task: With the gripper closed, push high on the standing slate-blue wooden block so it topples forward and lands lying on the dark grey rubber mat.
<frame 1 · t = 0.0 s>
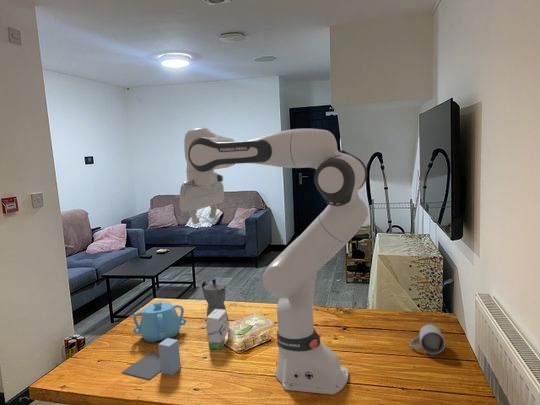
hand: (204, 220, 136), 48 cm above the table, tool pointing down, fingers open, 8 cm apart
ceramic mug: (427, 349, 139), on the table
decorative pot: (161, 335, 162), on the table
mat: (150, 365, 140), on the table
block: (171, 370, 136), on the table
coffeepot: (215, 320, 173), on the table
ink box: (219, 344, 152), on the table
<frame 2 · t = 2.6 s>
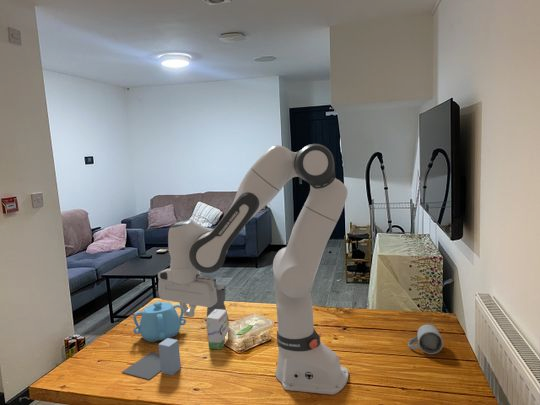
hand: (189, 316, 128), 20 cm above the table, tool pointing down, fingers closed
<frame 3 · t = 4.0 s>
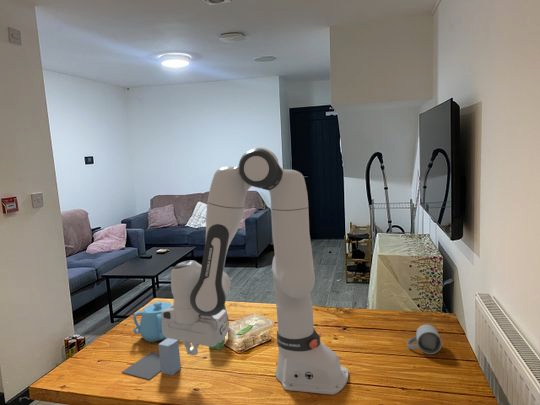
hand: (192, 353, 130), 8 cm above the table, tool pointing down, fingers closed
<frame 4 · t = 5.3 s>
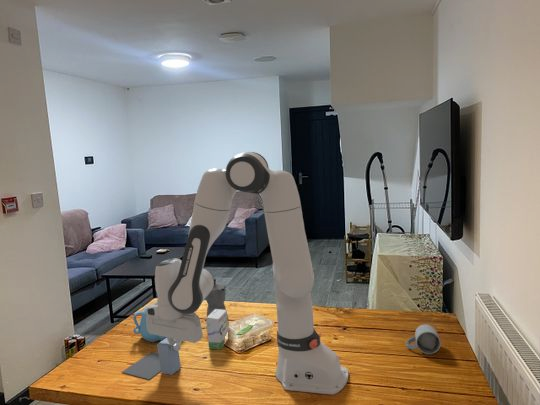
hand: (176, 349, 133), 8 cm above the table, tool pointing down, fingers closed
block: (171, 370, 136), on the table, touching gripper
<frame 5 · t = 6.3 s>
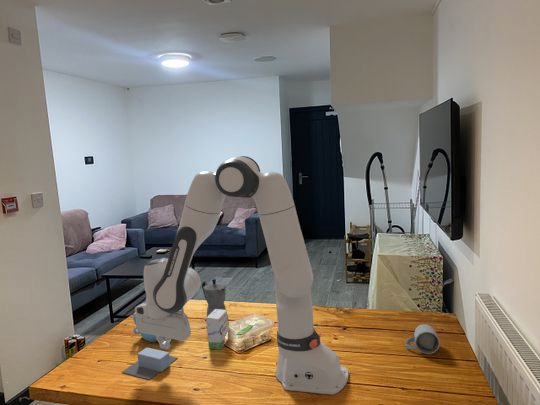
hand: (165, 347, 135), 8 cm above the table, tool pointing down, fingers closed
block: (165, 362, 136), point 3 cm above the table, tilted 90°, touching mat
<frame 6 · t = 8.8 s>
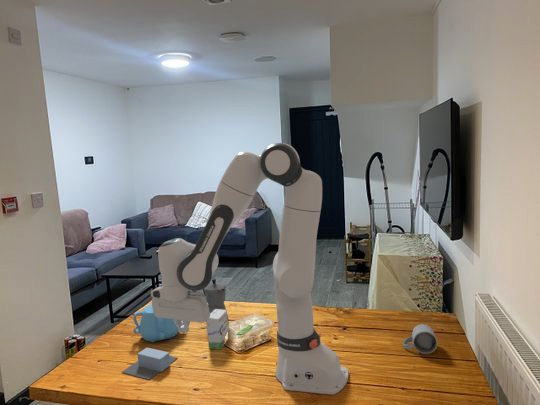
hand: (183, 331, 131), 15 cm above the table, tool pointing down, fingers closed
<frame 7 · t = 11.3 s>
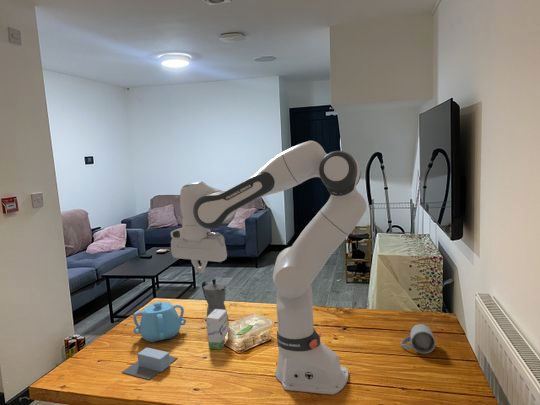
hand: (200, 272, 136), 31 cm above the table, tool pointing down, fingers closed
at the end: block tilted 90°; block inside the target area (6.8 cm from its centre), point 2.5 cm above the table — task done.
